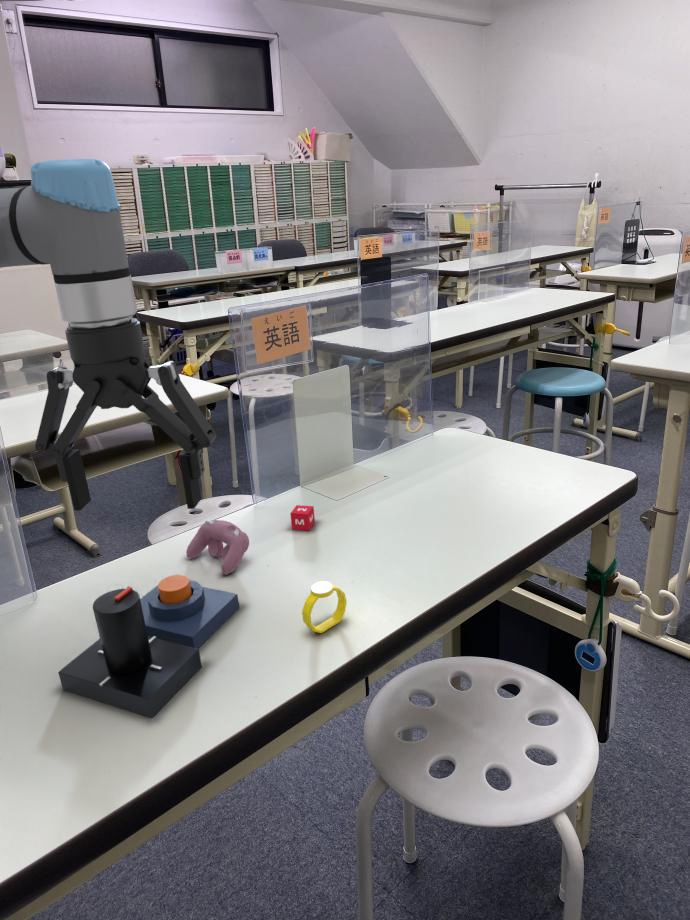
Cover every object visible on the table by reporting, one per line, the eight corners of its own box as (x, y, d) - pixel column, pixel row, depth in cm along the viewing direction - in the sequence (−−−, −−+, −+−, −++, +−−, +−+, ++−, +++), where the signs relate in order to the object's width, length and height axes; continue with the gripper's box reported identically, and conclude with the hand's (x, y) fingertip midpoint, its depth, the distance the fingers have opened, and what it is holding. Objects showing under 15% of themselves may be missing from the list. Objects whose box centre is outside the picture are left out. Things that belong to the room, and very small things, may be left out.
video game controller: (246, 576, 102) (257, 530, 102) (223, 576, 98) (234, 529, 98) (205, 557, 108) (215, 514, 108) (182, 557, 105) (192, 512, 105)
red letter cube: (292, 529, 112) (290, 513, 111) (298, 521, 115) (296, 505, 114) (309, 530, 111) (307, 514, 110) (315, 522, 114) (313, 506, 113)
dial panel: (61, 690, 78) (56, 671, 77) (117, 643, 86) (113, 625, 85) (151, 718, 73) (147, 698, 72) (202, 666, 81) (199, 647, 80)
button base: (119, 632, 88) (113, 606, 87) (168, 592, 97) (163, 567, 95) (194, 652, 83) (189, 624, 82) (239, 607, 92) (235, 582, 90)
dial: (131, 678, 75) (117, 615, 72) (97, 668, 77) (81, 606, 74) (160, 651, 80) (148, 590, 77) (127, 642, 82) (113, 582, 79)
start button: (153, 601, 88) (151, 588, 87) (173, 585, 91) (171, 572, 90) (179, 607, 86) (176, 593, 85) (198, 591, 89) (195, 577, 89)
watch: (338, 612, 89) (334, 572, 87) (351, 621, 87) (348, 581, 85) (300, 632, 86) (296, 591, 83) (314, 642, 84) (310, 600, 81)
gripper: (227, 308, 73) (250, 489, 81) (11, 320, 76) (53, 492, 84) (206, 321, 66) (234, 517, 74) (-31, 333, 70) (20, 520, 77)
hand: (138, 505), depth 79 cm, fingers open, 13 cm apart
